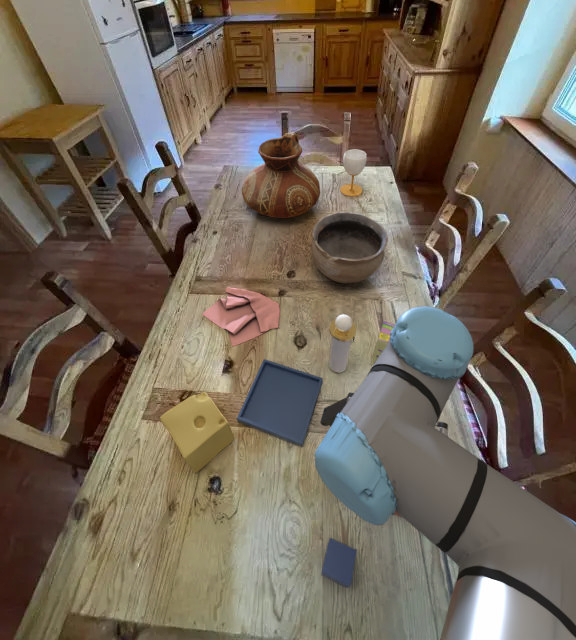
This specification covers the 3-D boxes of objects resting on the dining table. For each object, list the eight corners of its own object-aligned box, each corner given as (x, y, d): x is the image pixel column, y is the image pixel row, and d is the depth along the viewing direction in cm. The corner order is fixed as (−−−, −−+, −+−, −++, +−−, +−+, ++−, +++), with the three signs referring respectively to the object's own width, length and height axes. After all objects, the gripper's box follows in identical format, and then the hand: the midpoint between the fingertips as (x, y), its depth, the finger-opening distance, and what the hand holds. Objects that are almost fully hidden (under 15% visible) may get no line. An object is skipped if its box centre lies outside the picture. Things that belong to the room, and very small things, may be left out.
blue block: (347, 587, 56) (350, 586, 52) (320, 575, 58) (322, 572, 53) (353, 554, 59) (356, 549, 55) (328, 542, 61) (329, 537, 56)
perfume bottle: (339, 380, 82) (346, 334, 68) (321, 365, 85) (324, 317, 71) (354, 365, 85) (364, 317, 71) (336, 350, 88) (342, 302, 74)
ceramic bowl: (296, 268, 110) (295, 232, 99) (341, 237, 120) (345, 201, 109) (348, 308, 97) (354, 272, 87) (394, 270, 107) (404, 234, 97)
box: (417, 361, 85) (429, 335, 77) (413, 381, 81) (425, 356, 73) (376, 346, 88) (383, 320, 80) (370, 365, 85) (377, 339, 76)
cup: (338, 194, 139) (341, 158, 128) (342, 182, 145) (345, 147, 134) (360, 197, 137) (365, 161, 125) (364, 186, 143) (369, 150, 132)
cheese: (212, 403, 79) (203, 383, 72) (238, 441, 73) (231, 423, 66) (171, 434, 75) (157, 416, 68) (195, 478, 68) (182, 463, 61)
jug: (322, 226, 124) (325, 164, 107) (240, 229, 125) (230, 168, 107) (316, 182, 146) (318, 125, 129) (246, 185, 146) (238, 128, 129)
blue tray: (302, 447, 72) (302, 444, 70) (237, 422, 76) (236, 418, 75) (322, 381, 82) (322, 378, 81) (264, 362, 86) (263, 358, 85)
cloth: (288, 330, 93) (288, 325, 91) (208, 353, 88) (206, 348, 87) (268, 278, 107) (268, 272, 105) (199, 295, 103) (197, 290, 101)
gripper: (509, 404, 43) (455, 459, 57) (317, 347, 49) (313, 408, 64) (515, 469, 38) (455, 510, 52) (301, 395, 44) (301, 450, 59)
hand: (377, 454), depth 58 cm, fingers open, 13 cm apart
